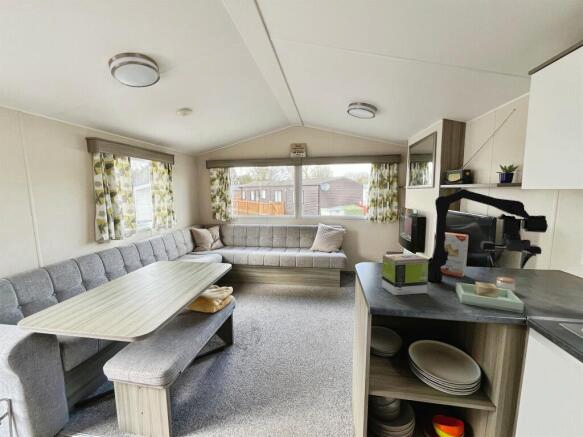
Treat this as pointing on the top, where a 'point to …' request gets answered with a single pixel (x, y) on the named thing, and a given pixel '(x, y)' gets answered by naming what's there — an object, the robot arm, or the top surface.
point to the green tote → (489, 298)
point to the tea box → (405, 274)
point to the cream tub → (506, 283)
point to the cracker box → (455, 254)
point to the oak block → (486, 290)
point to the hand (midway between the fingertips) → (507, 267)
